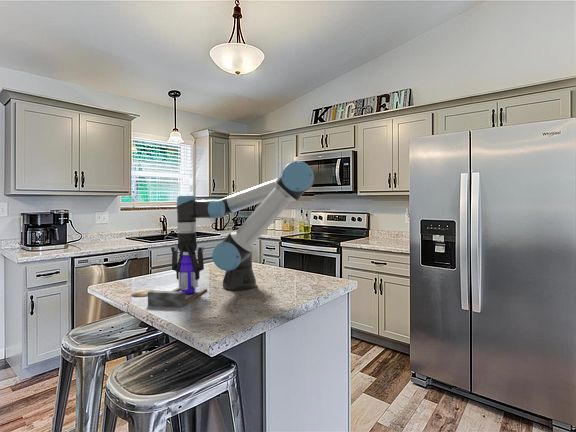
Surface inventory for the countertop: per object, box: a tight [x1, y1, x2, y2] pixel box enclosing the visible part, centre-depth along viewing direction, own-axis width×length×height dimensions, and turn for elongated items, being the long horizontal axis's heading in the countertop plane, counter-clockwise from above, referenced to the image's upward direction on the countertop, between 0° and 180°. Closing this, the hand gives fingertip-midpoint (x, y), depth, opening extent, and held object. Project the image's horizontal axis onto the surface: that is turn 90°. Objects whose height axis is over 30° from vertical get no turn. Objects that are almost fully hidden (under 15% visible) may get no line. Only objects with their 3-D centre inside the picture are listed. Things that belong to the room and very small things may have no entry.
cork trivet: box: [131, 289, 155, 298], centre depth 139 cm, size 9×9×1 cm
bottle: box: [180, 252, 196, 295], centre depth 139 cm, size 7×6×17 cm
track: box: [147, 287, 208, 308], centre depth 132 cm, size 14×22×5 cm, turn 171°
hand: (188, 287), depth 140 cm, fingers closed on bottle, 6 cm apart
